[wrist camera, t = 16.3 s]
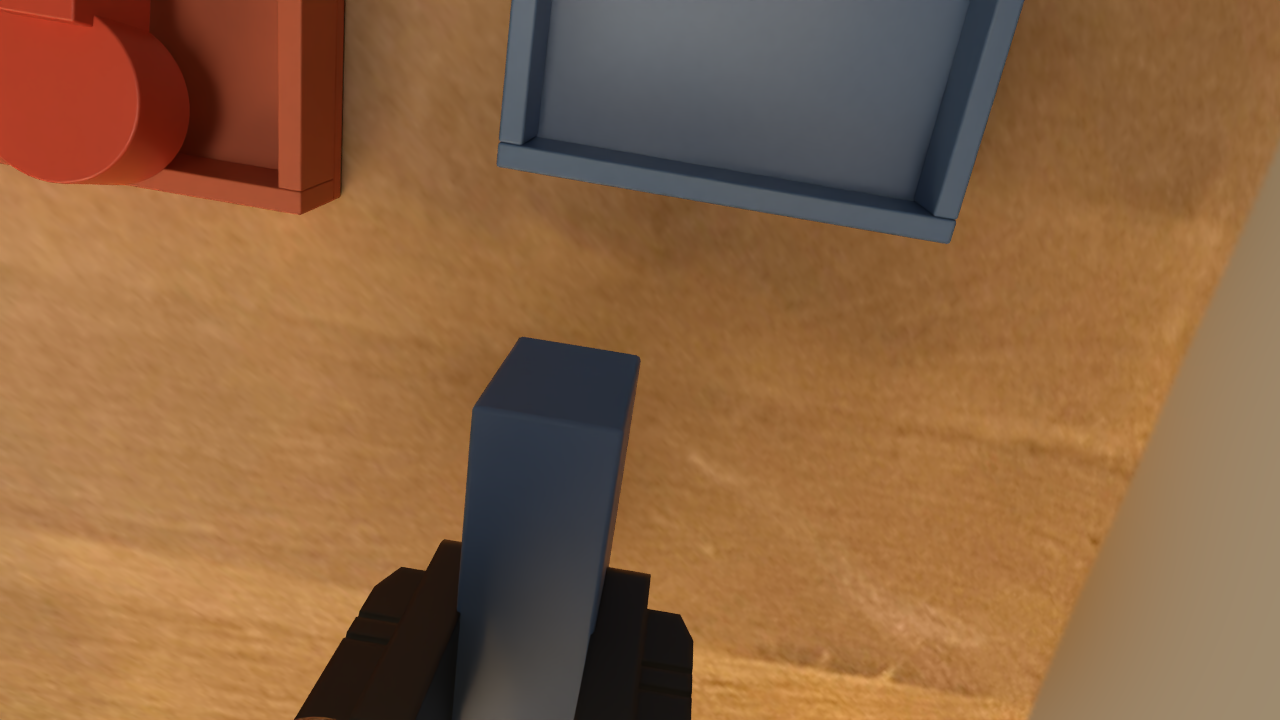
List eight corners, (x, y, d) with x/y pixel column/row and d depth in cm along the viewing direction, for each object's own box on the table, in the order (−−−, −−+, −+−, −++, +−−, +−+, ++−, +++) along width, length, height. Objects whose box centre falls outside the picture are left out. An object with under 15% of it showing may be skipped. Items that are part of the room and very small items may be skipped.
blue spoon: (445, 322, 12) (376, 390, 9) (716, 366, 12) (719, 446, 9) (410, 877, 16) (356, 1024, 14) (612, 913, 16) (594, 1067, 13)
